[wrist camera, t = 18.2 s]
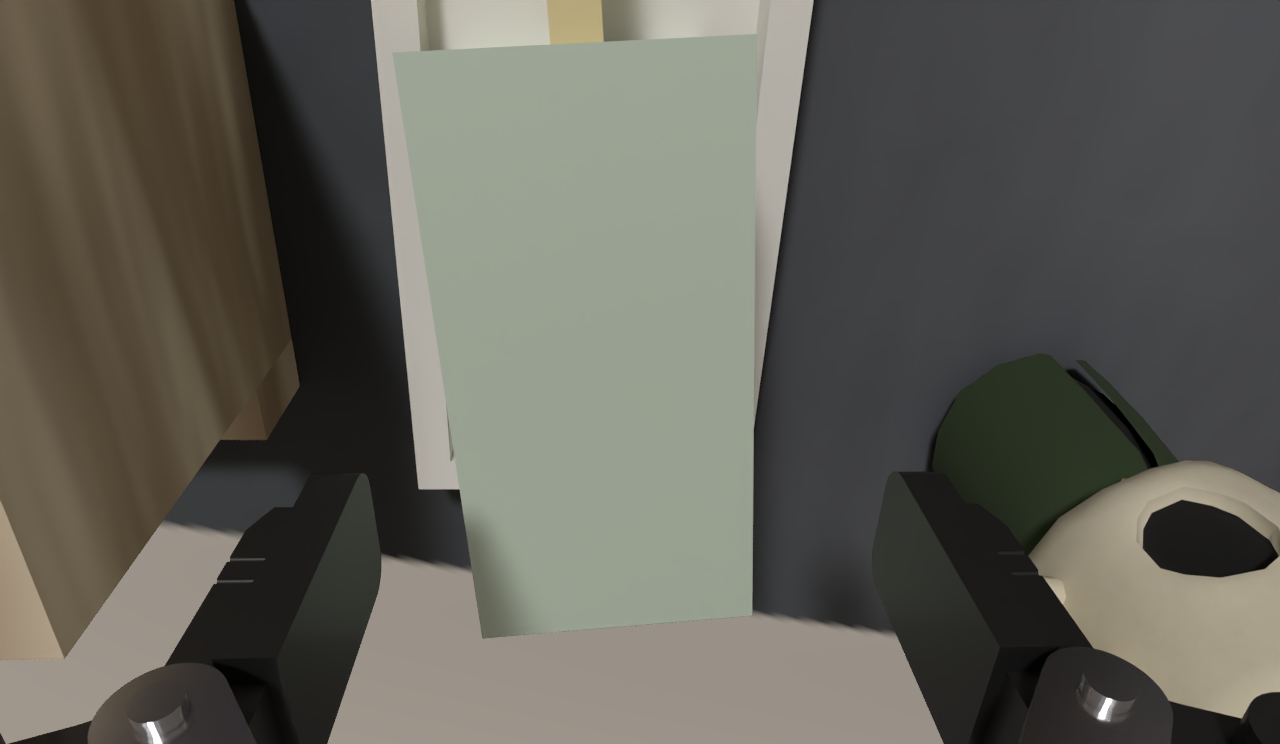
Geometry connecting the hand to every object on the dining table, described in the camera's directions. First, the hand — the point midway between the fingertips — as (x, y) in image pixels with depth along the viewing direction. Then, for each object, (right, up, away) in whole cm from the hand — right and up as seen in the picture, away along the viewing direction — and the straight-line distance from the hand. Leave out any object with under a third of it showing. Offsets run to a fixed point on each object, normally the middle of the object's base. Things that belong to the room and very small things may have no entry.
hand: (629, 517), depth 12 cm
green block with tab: (-1, +7, +8) cm, 11 cm away
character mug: (+13, 0, +15) cm, 20 cm away
